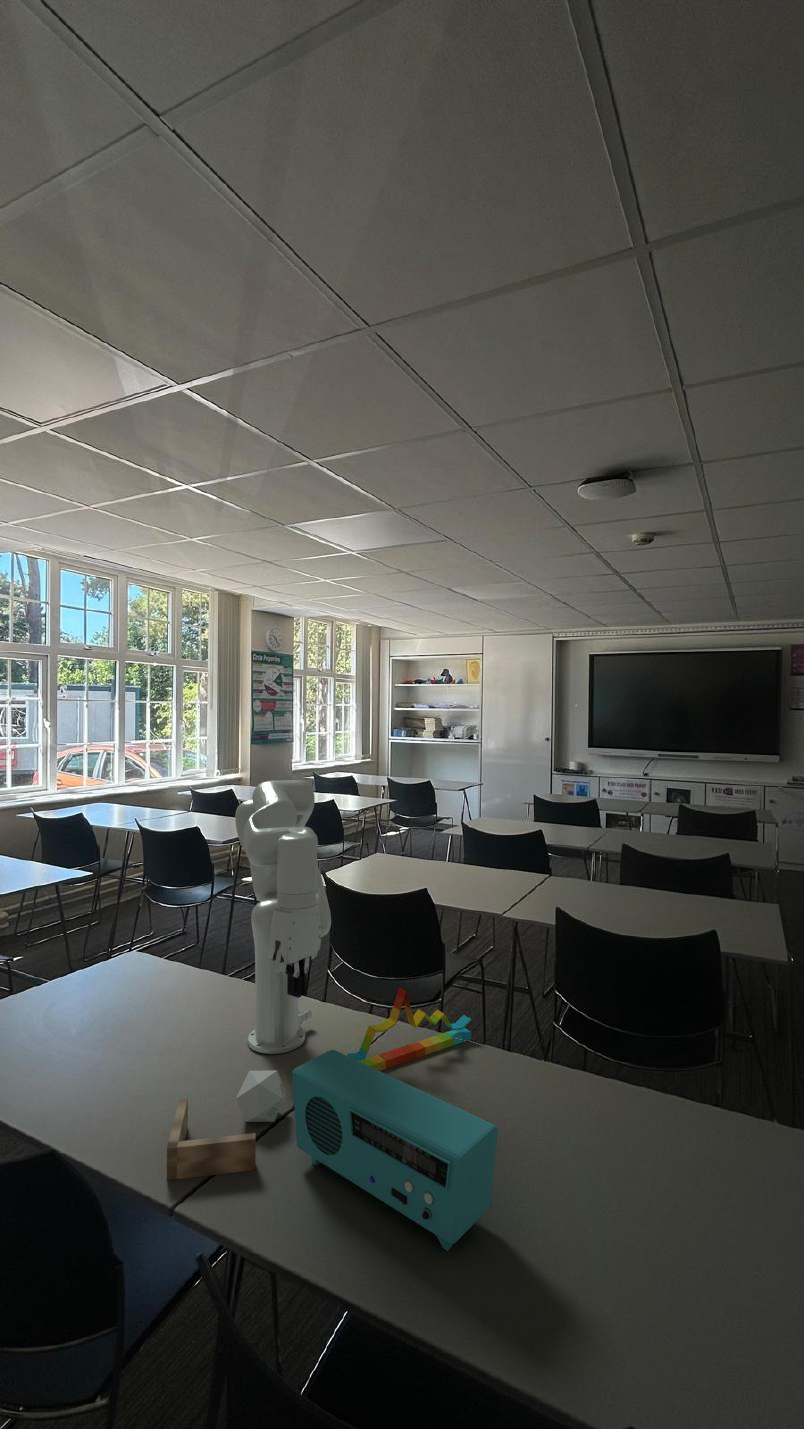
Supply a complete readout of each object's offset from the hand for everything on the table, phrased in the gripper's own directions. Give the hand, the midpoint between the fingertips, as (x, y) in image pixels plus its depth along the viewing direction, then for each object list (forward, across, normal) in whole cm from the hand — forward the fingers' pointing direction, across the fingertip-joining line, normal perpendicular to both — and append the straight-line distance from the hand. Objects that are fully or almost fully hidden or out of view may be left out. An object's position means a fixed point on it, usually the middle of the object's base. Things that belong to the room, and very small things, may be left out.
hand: (296, 994), depth 129 cm
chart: (+20, -25, +10) cm, 33 cm away
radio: (+19, +12, +30) cm, 37 cm away
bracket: (+19, +24, 0) cm, 31 cm away
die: (+19, +9, 0) cm, 21 cm away
